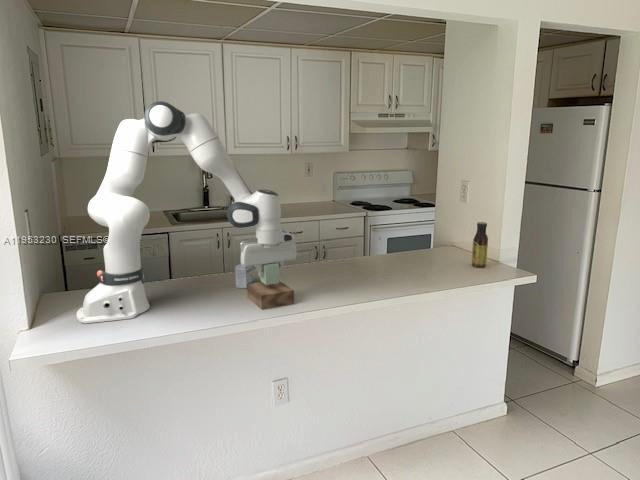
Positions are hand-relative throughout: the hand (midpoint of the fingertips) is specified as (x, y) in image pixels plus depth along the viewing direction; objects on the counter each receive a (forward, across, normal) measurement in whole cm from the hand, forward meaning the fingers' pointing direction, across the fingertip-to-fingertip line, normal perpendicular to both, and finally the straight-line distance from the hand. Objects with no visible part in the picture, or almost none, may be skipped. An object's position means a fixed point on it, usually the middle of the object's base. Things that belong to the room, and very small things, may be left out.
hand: (269, 274), depth 168 cm
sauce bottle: (+10, +99, -4) cm, 99 cm away
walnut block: (+10, 0, 0) cm, 10 cm away
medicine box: (+10, -2, +21) cm, 23 cm away
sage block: (+3, 0, 0) cm, 3 cm away
